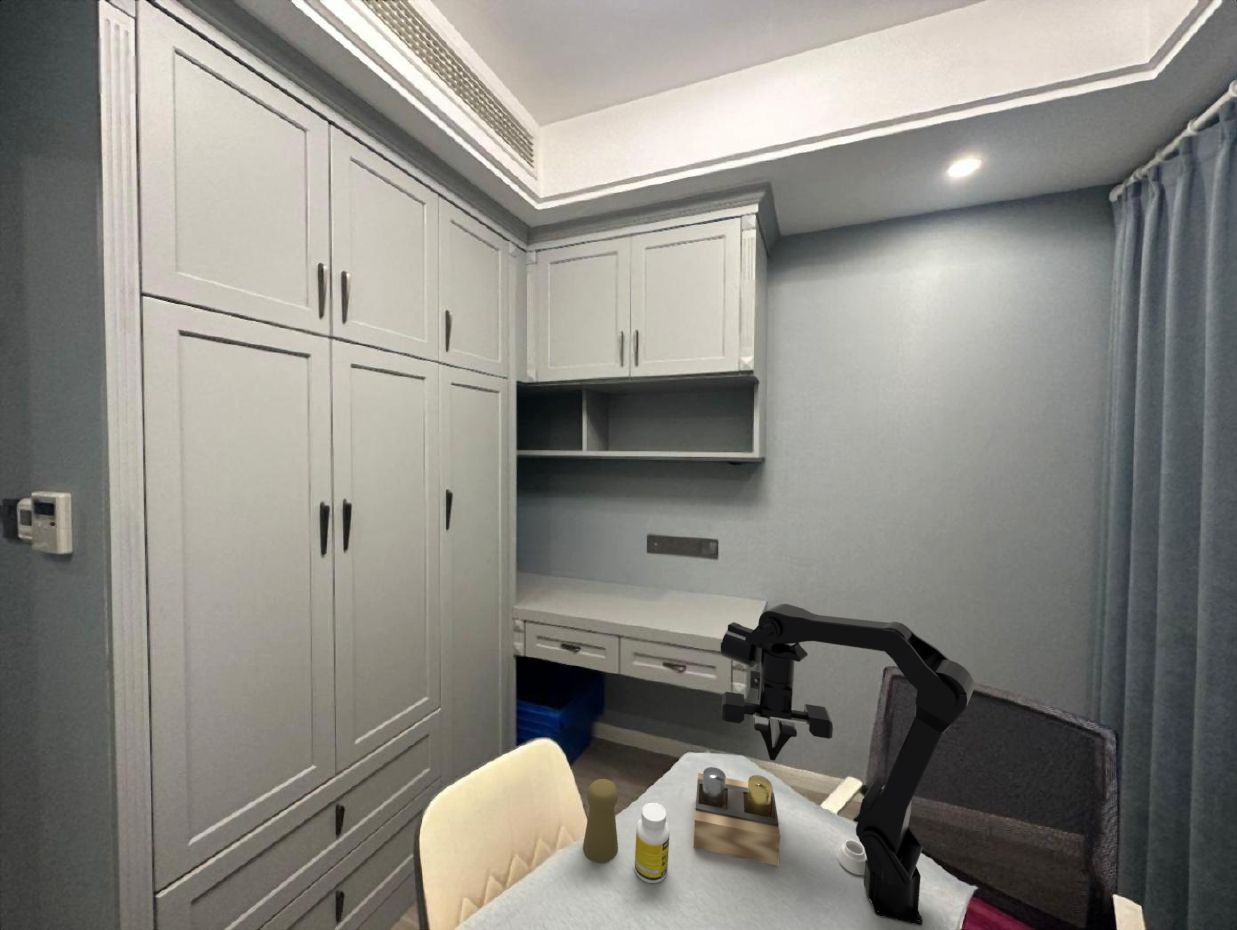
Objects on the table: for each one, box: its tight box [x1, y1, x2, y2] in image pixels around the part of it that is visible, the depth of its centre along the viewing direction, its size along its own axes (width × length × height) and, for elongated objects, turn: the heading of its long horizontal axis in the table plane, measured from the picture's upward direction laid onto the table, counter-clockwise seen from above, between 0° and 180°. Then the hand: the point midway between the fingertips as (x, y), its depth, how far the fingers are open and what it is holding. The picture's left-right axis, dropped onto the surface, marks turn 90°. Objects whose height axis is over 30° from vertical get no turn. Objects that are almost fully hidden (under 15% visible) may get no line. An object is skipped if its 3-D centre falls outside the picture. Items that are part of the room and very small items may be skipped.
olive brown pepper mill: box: [582, 778, 619, 864], centre depth 81 cm, size 6×6×11 cm
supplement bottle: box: [634, 802, 671, 884], centre depth 77 cm, size 5×5×10 cm
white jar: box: [836, 839, 867, 876], centre depth 80 cm, size 5×3×5 cm
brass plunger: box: [747, 774, 773, 817], centre depth 85 cm, size 4×4×5 cm
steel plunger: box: [702, 766, 727, 808], centre depth 87 cm, size 4×4×5 cm
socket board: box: [693, 772, 781, 867], centre depth 86 cm, size 14×12×5 cm
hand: (772, 759), depth 87 cm, fingers closed
